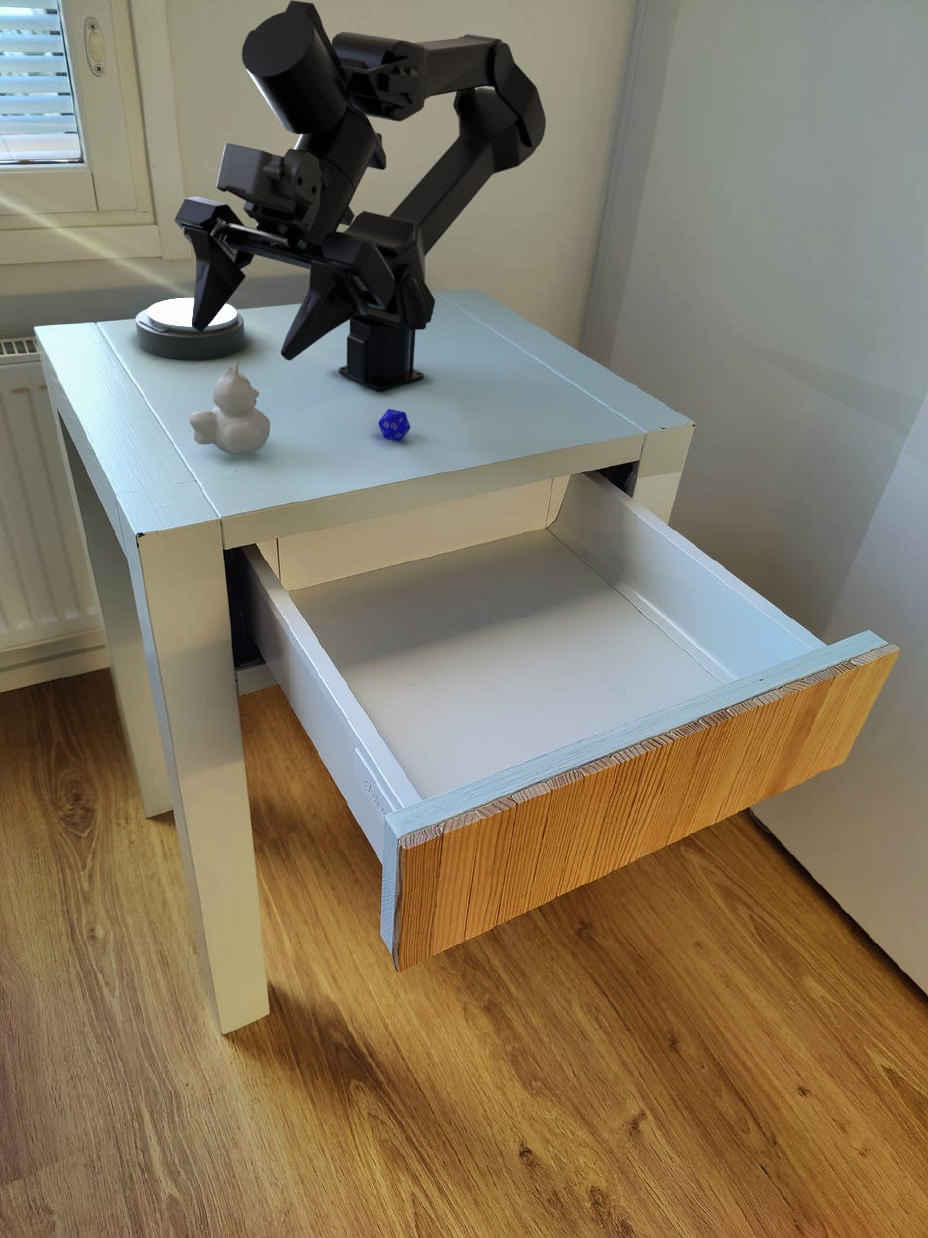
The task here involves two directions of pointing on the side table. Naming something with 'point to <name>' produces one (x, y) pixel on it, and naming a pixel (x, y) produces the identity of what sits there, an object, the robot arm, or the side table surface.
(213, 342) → the scale
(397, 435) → the die
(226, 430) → the rubber duck
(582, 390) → the side table surface
